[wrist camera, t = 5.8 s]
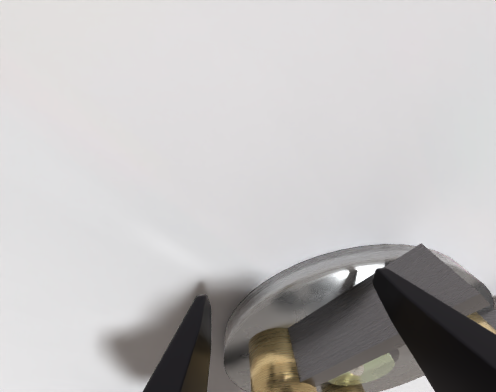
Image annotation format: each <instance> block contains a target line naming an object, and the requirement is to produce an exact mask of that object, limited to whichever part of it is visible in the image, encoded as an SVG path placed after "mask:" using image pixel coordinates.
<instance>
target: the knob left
mask: <svg viewBox="0 0 496 392" xmlns="http://www.w3.org/2000/svg"><path fill="white" fill-rule="evenodd" d="M383 268H388V269H390V270H391V271H393V272H394V273H396V274H398V275H399V276H401V277H403V278H404V279H406V280H408V281H409V282H411V283H413V284H414V285H416V286H417V287H419V288H421V289H422V290H424V291H426V292H427V293H429V294H431V295H432V296H434V297H435V298H437V299H439V300H440V301H442V302H444V303H445V304H447V305H449V306H450V307H452V308H453V309H455V310H457V311H458V312H460V313H462V314H463V315H465V316H468V315H470V314H472V313H474V312H476V311H479V310H481V309H483V308H485V307H487V306H489V305H490V304H489V303H488V302H487V300H486V299H485V298H484V297H483V296H482V295H481V294H480V293H479V292H478V291H477V290H476V289H474V288H473V287H472V286H471V285H470V284H469V283H467V282H466V281H465V280H464V279H463V278H462V277H460V276H459V275H458V274H457V273H456V272H454V271H453V270H452V269H451V268H450V267H449V266H447V265H446V264H445V263H444V262H443V261H441V260H440V259H439V258H438V257H437V256H436V255H434V254H433V253H432V252H431V251H430V250H428V249H427V248H426V247H425V246H424V245H423V244H420V245H418V246H416V247H415V248H413V249H412V250H410V251H408V252H407V253H405V254H404V255H402V256H401V257H399V258H397V259H396V260H394V261H393V262H391V263H390V264H388V265H386V266H385V267H383ZM373 276H374V274H372V275H371V276H369V277H368V278H366V279H364V280H363V281H361V282H360V283H358V284H356V285H355V286H353V287H352V288H350V289H349V290H347V291H345V292H344V293H342V294H341V295H339V296H338V297H336V298H334V299H333V300H331V301H330V302H328V303H327V304H325V305H323V306H322V307H320V308H319V309H317V310H316V311H314V312H312V313H311V314H309V315H308V316H306V317H305V318H303V319H301V320H300V321H298V322H297V323H295V324H293V325H292V326H290V327H289V328H271V329H267V330H264V331H261V332H259V333H257V334H256V335H254V336H253V337H252V338H251V339H250V341H249V344H248V346H249V363H250V380H251V392H317V389H316V386H318V385H321V384H323V383H325V382H327V381H329V380H331V379H333V378H335V377H338V376H340V375H342V374H344V373H346V372H348V371H350V370H353V369H355V368H357V367H359V366H361V365H363V364H365V363H368V362H370V361H372V360H374V359H376V358H378V357H380V356H382V355H385V354H387V353H389V352H391V351H393V350H395V349H397V348H400V347H402V346H404V345H406V344H405V343H404V341H403V339H402V338H401V336H400V335H399V333H398V331H397V330H396V328H395V327H394V325H393V323H392V322H391V320H390V318H389V316H388V314H387V312H386V310H385V308H384V306H383V304H382V302H381V300H380V298H379V296H378V294H377V292H376V290H375V288H374V286H373V284H372V279H373Z"/></svg>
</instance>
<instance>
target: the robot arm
mask: <svg viewBox="0 0 496 392" xmlns="http://www.w3.org/2000/svg"><path fill="white" fill-rule="evenodd" d="M372 284H373V286H374V288H375V290H376V292H377V294H378V296H379V298H380V300H381V302H382V304H383V306H384V308H385V310H386V312H387V314H388V316H389V318H390V320H391V322H392V323H393V325H394V327H395V328H396V330H397V331H398V333H399V335H400V336H401V338H402V339H403V341H404V343H405V344H406V346H407V347H408V349H409V351H410V352H411V354H412V355H413V357H414V359H415V360H416V362H417V363H418V365H419V367H420V368H421V370H422V371H423V373H424V375H425V376H426V378H427V379H428V381H429V383H430V384H431V386H432V387H433V389H434V391H435V392H496V334H494V333H493V332H491V331H490V330H488V329H486V328H485V327H483V326H481V325H480V324H478V323H476V322H475V321H473V320H471V319H470V318H468V317H467V316H465V315H463V314H462V313H460V312H458V311H457V310H455V309H453V308H452V307H450V306H449V305H447V304H445V303H444V302H442V301H440V300H439V299H437V298H435V297H434V296H432V295H431V294H429V293H427V292H426V291H424V290H422V289H421V288H419V287H417V286H416V285H414V284H413V283H411V282H409V281H408V280H406V279H404V278H403V277H401V276H399V275H398V274H396V273H394V272H393V271H391V270H390V269H388V268H377V269H376V270H375V272H374V276H373V279H372ZM210 354H211V305H210V302H209V299H208V296H207V295H206V294H203V295H198V296H197V297H196V298H195V300H194V302H193V304H192V305H191V307H190V309H189V311H188V312H187V314H186V316H185V318H184V319H183V321H182V323H181V325H180V327H179V328H178V330H177V332H176V334H175V335H174V337H173V339H172V341H171V343H170V344H169V346H168V348H167V350H166V351H165V353H164V355H163V357H162V358H161V360H160V362H159V364H158V366H157V367H156V369H155V371H154V373H153V374H152V376H151V378H150V380H149V382H148V383H147V385H146V387H145V389H144V390H143V392H207V384H208V374H209V364H210Z"/></svg>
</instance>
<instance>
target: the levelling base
mask: <svg viewBox="0 0 496 392" xmlns="http://www.w3.org/2000/svg"><path fill="white" fill-rule="evenodd" d="M415 247H416V246H410V245H395V244H382V245H370V246H361V247H355V248H349V249H344V250H339V251H336V252H332V253H328V254H324V255H321V256H318V257H315V258H312V259H310V260H307V261H304V262H302V263H299V264H297V265H295V266H293V267H291V268H289V269H286V270H284V271H282V272H280V273H279V274H277V275H275V276H274V277H272V278H270V279H269V280H267V281H265V282H264V283H263V284H261V285H260V286H259V287H257V288H256V289H255V290H253V291H252V292H251V293H250V294H249V295H248V296H247V297H246V298H245V299H244V300H243V301H242V302H241V303H240V304H239V305H238V307H237V308H236V309H235V311H234V312H233V314H232V315H231V317H230V319H229V321H228V323H227V327H226V330H225V345H224V366H225V371H226V373H227V375H228V376H229V378H230V379H231V380H232V381H233V382H234V384H236V385H237V386H238V387H240V388H241V389H243V390H245V391H247V392H251V380H250V363H249V346H248V344H249V341H250V339H251V338H252V337H253V336H254V335H256V334H257V333H259V332H261V331H264V330H267V329H271V328H289V327H290V326H292V325H293V324H295V323H297V322H298V321H300V320H301V319H303V318H305V317H306V316H308V315H309V314H311V313H312V312H314V311H316V310H317V309H319V308H320V307H322V306H323V305H325V304H327V303H328V302H330V301H331V300H333V299H334V298H336V297H338V296H339V295H341V294H342V293H344V292H345V291H347V290H349V289H350V288H352V287H353V286H355V285H356V284H358V283H360V282H361V281H363V280H364V279H366V278H368V277H369V276H371V275H372V274H374V272H375V270H376V269H377V268H383V267H385V266H386V265H388V264H390V263H391V262H393V261H394V260H396V259H397V258H399V257H401V256H402V255H404V254H405V253H407V252H408V251H410V250H412V249H413V248H415ZM428 250H430V249H428ZM430 251H431V252H432V253H433V254H434V255H436V256H437V257H438V258H439V259H440V260H441V261H443V262H444V263H445V264H446V265H447V266H449V267H450V268H451V269H452V270H453V271H454V272H456V273H457V274H458V275H459V276H460V277H462V278H463V279H464V280H465V281H466V282H467V283H469V284H470V285H471V286H472V287H473V288H474V289H476V290H477V291H478V292H479V293H480V294H481V295H482V296H483V297H484V298H485V299H486V300H487V302H488V303H489V304H490V305H489V306H487V307H485V308H483V309H481V310H479V311H486V310H493V308H494V302H493V298H492V295H491V293H490V291H489V290H488V289H487V287H486V286H485V285H484V284H483V283H482V282H480V281H479V280H478V279H477V278H475V277H474V276H473V275H472V274H470V273H469V272H468V271H467V270H465V269H464V268H463V267H462V266H460V265H459V264H458V263H457V262H455V261H454V260H453V259H451V258H450V257H448V256H446V255H444V254H442V253H440V252H437V251H434V250H430ZM476 312H478V311H476ZM421 376H424V373H423V371H422V370H421V368H420V367H419V365H418V363H417V362H416V360H415V359H414V357H413V355H412V354H411V352H410V351H409V349H408V347H407V346H406V345H404V346H402V347H400V348H397V349H395V350H393V351H391V352H389V353H387V354H385V355H382V356H380V357H378V358H376V359H374V360H372V361H370V362H368V363H365V364H363V365H361V366H359V367H357V368H355V369H353V370H350V371H348V372H346V373H344V374H342V375H340V376H338V377H335V378H333V379H331V380H329V381H327V382H325V383H323V384H321V385H318V386H316V389H317V392H380V391H383V390H387V389H390V388H393V387H396V386H399V385H402V384H404V383H407V382H410V381H412V380H415V379H417V378H419V377H421Z"/></svg>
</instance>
